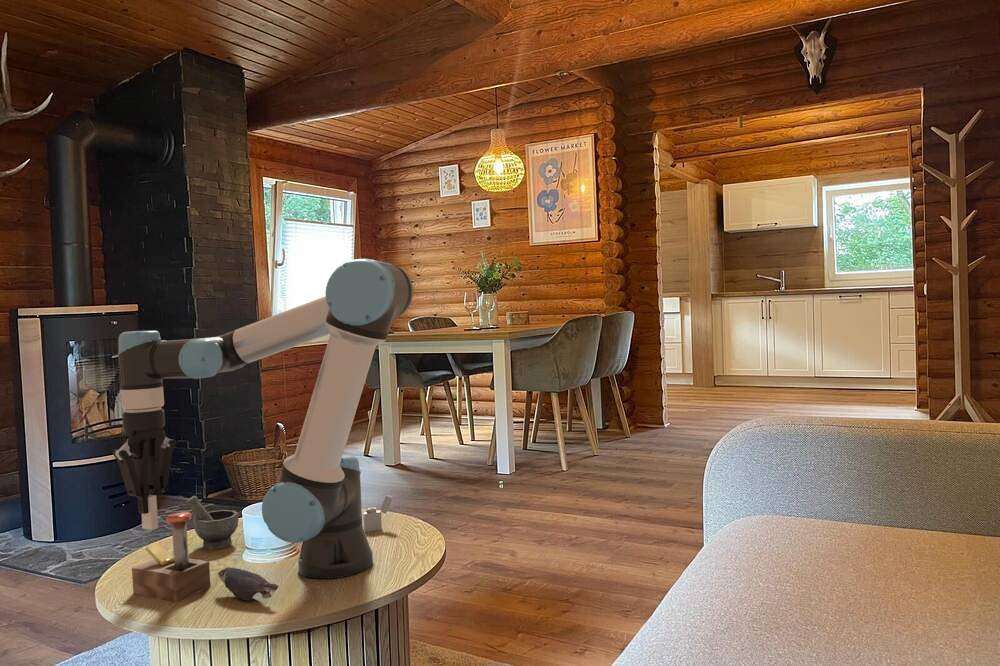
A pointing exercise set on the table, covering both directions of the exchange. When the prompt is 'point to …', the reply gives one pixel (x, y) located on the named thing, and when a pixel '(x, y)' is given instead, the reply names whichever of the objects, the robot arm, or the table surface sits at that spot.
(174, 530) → the red-capped peg
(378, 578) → the table surface
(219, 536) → the mortar and pestle
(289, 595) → the table surface
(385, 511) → the lighter
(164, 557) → the golden rectangular bar
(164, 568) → the block
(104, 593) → the table surface
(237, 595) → the bird model
